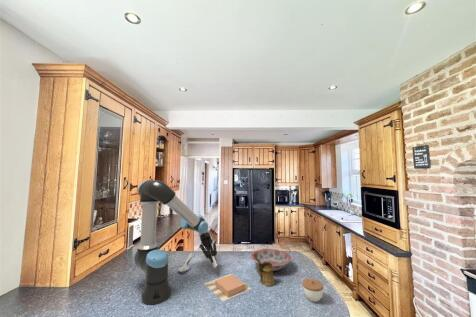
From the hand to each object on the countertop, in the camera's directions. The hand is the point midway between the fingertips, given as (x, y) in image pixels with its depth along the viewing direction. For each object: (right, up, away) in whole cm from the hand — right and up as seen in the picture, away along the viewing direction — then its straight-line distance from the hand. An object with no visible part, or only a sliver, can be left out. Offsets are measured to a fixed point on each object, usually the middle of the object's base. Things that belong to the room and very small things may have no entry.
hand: (215, 266), depth 129 cm
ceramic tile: (+6, -4, -8) cm, 11 cm away
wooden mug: (+31, -6, -7) cm, 32 cm away
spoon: (-25, -10, +21) cm, 34 cm away
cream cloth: (+8, -6, -12) cm, 16 cm away
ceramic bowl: (+39, -8, +13) cm, 42 cm away
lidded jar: (+56, -5, -23) cm, 60 cm away
